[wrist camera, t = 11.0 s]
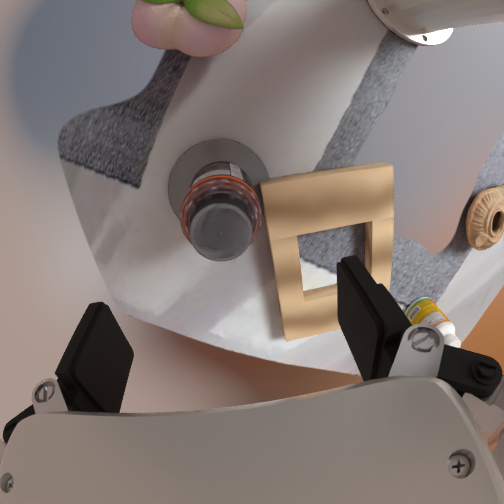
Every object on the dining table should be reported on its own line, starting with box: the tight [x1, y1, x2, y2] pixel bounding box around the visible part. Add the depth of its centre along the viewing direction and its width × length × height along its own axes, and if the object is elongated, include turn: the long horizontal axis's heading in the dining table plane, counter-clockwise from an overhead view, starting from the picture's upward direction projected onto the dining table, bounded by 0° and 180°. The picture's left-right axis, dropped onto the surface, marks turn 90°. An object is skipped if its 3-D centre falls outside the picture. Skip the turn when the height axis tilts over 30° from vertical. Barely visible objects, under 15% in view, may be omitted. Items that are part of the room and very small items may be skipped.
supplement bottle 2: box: [405, 297, 461, 348], centre depth 35 cm, size 5×5×10 cm
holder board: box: [259, 162, 394, 341], centre depth 33 cm, size 20×14×2 cm
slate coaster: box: [168, 139, 269, 220], centre depth 29 cm, size 10×10×1 cm
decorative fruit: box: [131, 0, 247, 57], centre depth 17 cm, size 9×8×10 cm
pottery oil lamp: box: [466, 184, 504, 250], centre depth 30 cm, size 9×12×7 cm
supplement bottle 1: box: [180, 161, 262, 261], centre depth 24 cm, size 6×6×11 cm
